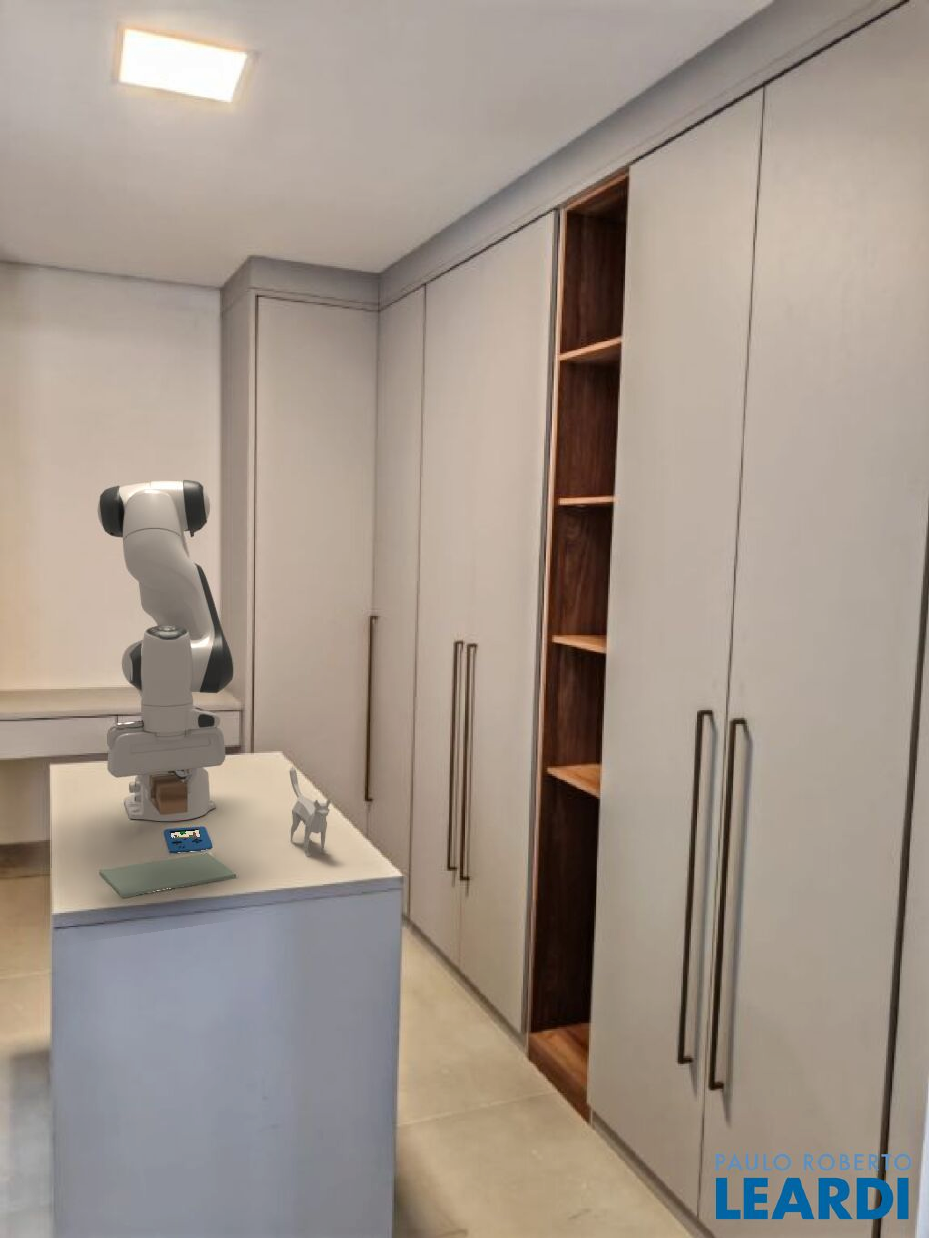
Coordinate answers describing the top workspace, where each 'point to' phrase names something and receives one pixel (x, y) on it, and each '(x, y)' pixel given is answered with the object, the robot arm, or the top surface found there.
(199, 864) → the rubber mat
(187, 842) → the handheld gaming device
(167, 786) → the walnut block
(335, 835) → the top surface
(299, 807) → the cat figurine
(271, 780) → the top surface
